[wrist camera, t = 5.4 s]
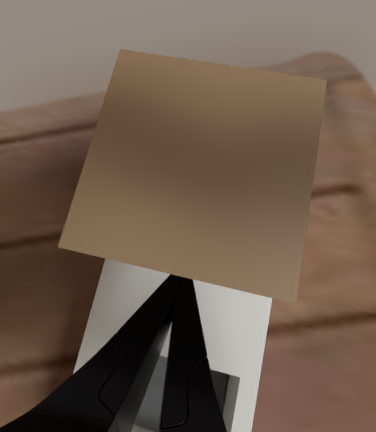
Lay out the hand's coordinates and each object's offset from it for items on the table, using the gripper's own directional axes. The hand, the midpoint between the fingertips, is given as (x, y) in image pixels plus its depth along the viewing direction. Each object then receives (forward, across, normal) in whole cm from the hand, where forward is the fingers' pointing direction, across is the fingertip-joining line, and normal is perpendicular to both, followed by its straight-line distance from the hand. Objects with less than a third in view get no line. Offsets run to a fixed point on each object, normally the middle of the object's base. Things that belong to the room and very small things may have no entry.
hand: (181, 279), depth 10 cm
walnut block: (+5, 0, 0) cm, 5 cm away
